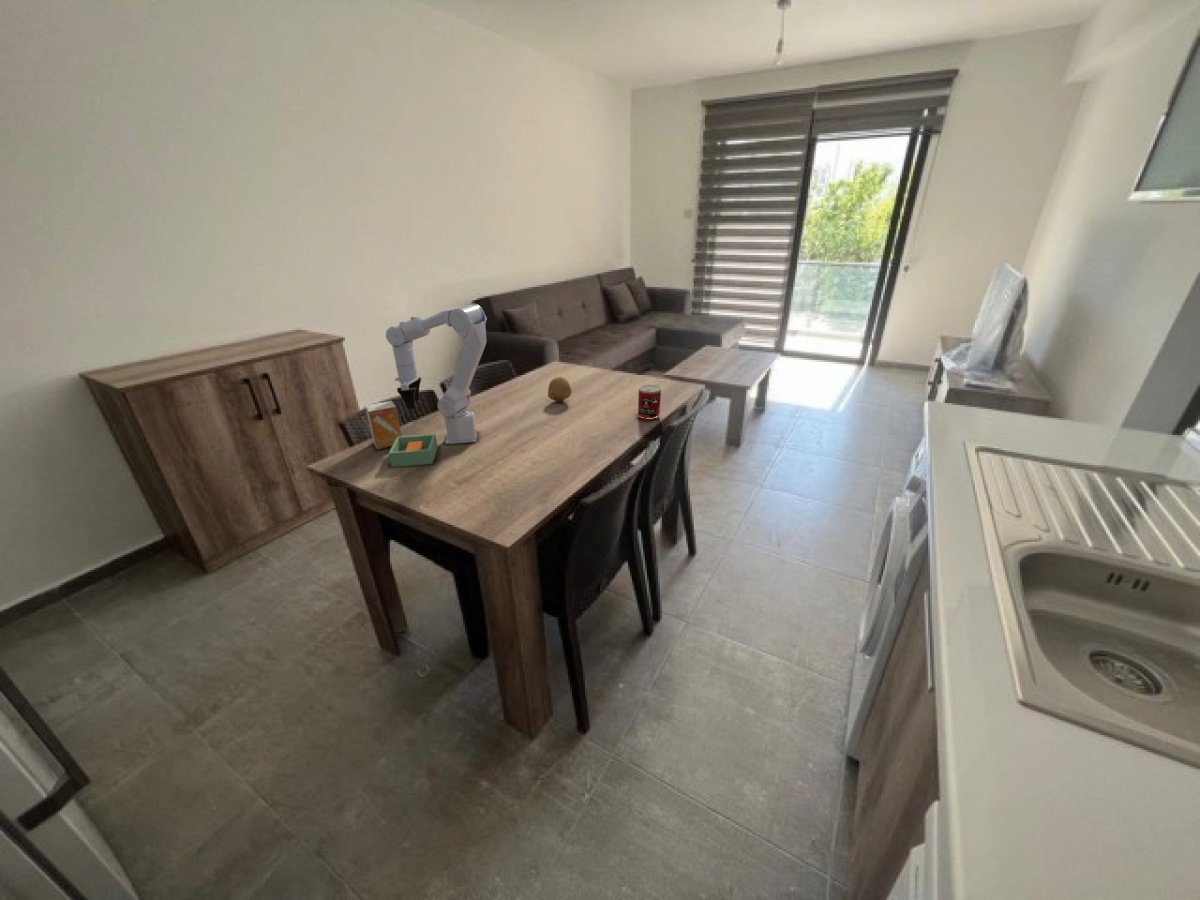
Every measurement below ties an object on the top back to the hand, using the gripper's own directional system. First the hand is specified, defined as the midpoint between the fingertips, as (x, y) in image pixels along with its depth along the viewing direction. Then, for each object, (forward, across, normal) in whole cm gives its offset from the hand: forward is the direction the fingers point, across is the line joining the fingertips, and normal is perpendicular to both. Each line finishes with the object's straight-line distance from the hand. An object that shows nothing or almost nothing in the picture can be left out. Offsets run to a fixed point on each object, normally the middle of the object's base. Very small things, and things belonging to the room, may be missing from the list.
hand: (413, 404), depth 157 cm
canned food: (+11, 0, +80) cm, 81 cm away
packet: (+10, +18, +2) cm, 21 cm away
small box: (+11, +7, -8) cm, 15 cm away
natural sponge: (+11, -21, +50) cm, 55 cm away
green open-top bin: (+10, +18, +2) cm, 21 cm away
